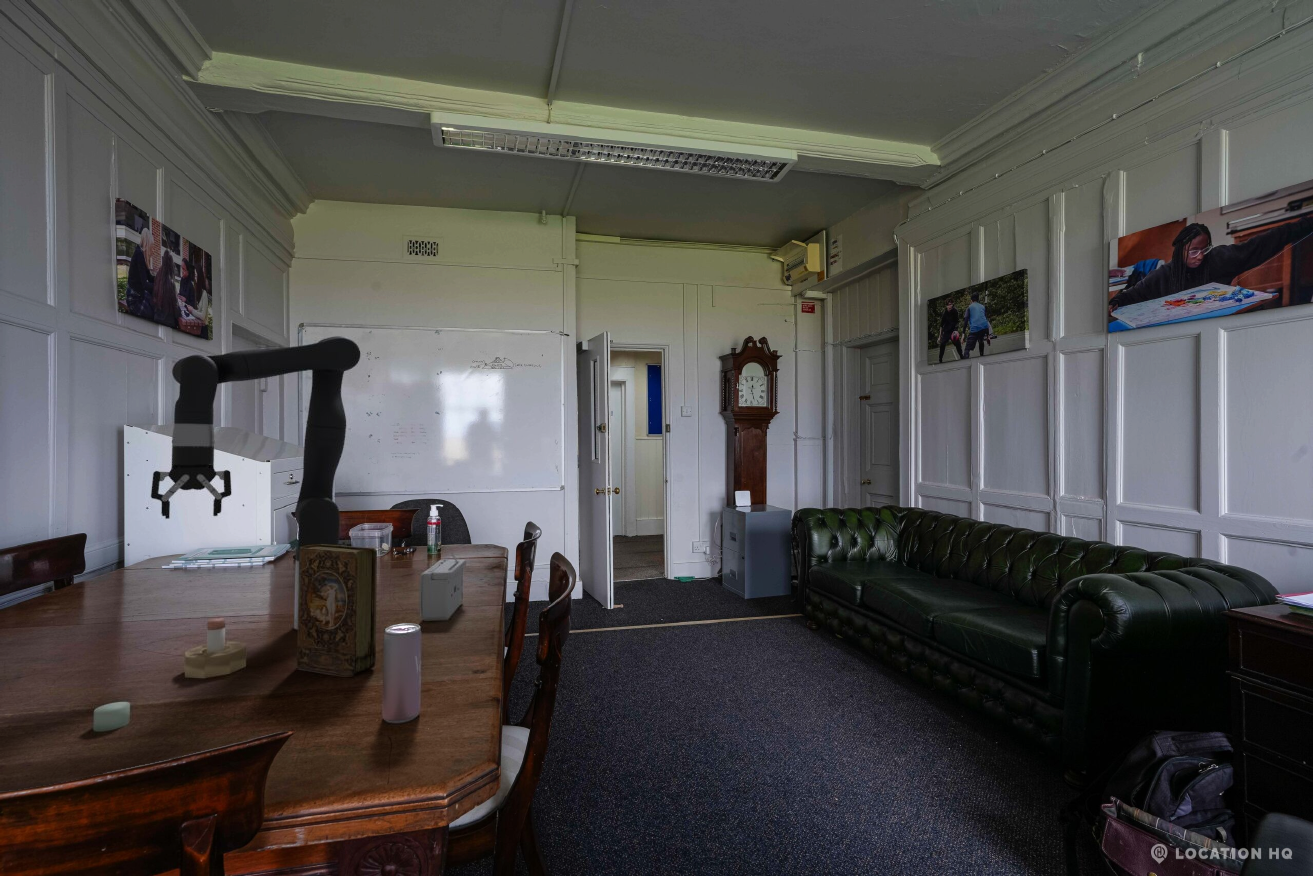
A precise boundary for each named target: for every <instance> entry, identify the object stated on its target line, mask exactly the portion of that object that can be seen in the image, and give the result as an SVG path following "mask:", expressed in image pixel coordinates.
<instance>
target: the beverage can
mask: <svg viewBox="0 0 1313 876" xmlns="http://www.w3.org/2000/svg"><path fill="white" fill-rule="evenodd" d="M382 650H383V651H382V652H383V653H382V654H383V655H382V705H381V707H382V708H381V709H382V711H381V716H382V719H383V720H384V721H385V722H386V723H389V724H402V723H408V722H410V721H412V720H414V719H416V718H417V717H418V715H419V714H420V712H421V692H422V691H421V682H422V679H421V677H422V674H421V673H422V631H421V626H420V625H419V624H416V623H399V624H394V625H390V626H387V627H386V628H385V629H384V635H383V649H382Z"/></svg>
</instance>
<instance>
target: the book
mask: <svg viewBox="0 0 1313 876" xmlns="http://www.w3.org/2000/svg"><path fill="white" fill-rule="evenodd" d="M377 561H378V552H377V549H376V548H374V547H363V546H351V545H339V544H338V545H326V544H317V545H308V546H302V547H300V548H299V591H298V630H297V641H296V642H297V646H296V647H297V649H296V652H297V653H296V669H297V670H300V671H308V672H313V673H318V674H324V675H331V676H336V677H344V678H353V677H355V675H356V674H358V673H361V672H363V671H367V670H371V669H373V668H375V666H376V654H377V649H376V647H377V644H376V643H377V587H378V586H377V581H378V580H377V579H378V578H377V576H378V575H377V574H378V567H377V565H378V563H377Z"/></svg>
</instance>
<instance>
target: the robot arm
mask: <svg viewBox="0 0 1313 876" xmlns="http://www.w3.org/2000/svg"><path fill="white" fill-rule="evenodd" d="M360 360H361V350H360V347H359V346H358V344H357V343H356V342H355V341H354V340H353V339H351V338H350V337H346V336H342V335H341V336H339V335H337V336H336V335H335V336H331V337H327V338H323V339H320V340H319V341H318V342H315V343H310V344H303V345H297V346H287V347H286V346H285V347H273V348H272V347H271V348H257V349H248V350H239V351H238V350H237V351H231V352H227V353H224V354H217V355H203V354H193V355H189V356H187V357H183V358H180V359H179V360H178V361H176V362H175V363H174V364H173V367H172V369H171V371H172V372H171V374H172V377H173V379H174V380H175V382H177V383H178V384H179V392H178V393H179V394H178V395H179V396H178V398H177V400H176V401H175V404H174V414H173V417H174V418H173V420H174V421H173V430H172V435H171V436H172V438H171V444H172V445H171V469H170V471H159V470H155V471H153V473H152V482H151V492H150V498H151V499H153V500H158V501H160V502H161V510H160V511H161V512H160V513H161V516H162V517H165V520H167V519H168V520H169V519H170V518H171V517H170V516H171V515H170V511H171V510H170V508H171V505H170V504H171V502H170V499H171V497H172V496H173V495H175V493H177V492H178V491H179V490H181V491H190V490H195V491H201V490H203V489H206V490H207V491H208V492H209V493H210V494H211V495H212V496H213V497H214V499H213V504H212V506H213V510H212V511H213V514H212V515H213V517H218V515H219V514H221V513H222V505H223V503H222V501H223V499H225V498H228V497H230V496H232V481H231V479H232V478H231V475H232V473H231V471H230V470H229V469H228V470H227V469H226V470H218V471H217V470H215V444H216V441H215V430H214V413H215V412H214V403H215V399H216V393H217V389H218V385H219V384H224V383H232V382H244V381H246V382H247V381H252V380H260V379H267V378H272V377H273V378H274V377H277V376H282V375H288V374H293V373H298V372H304V371H311V374H312V375H311V392H310V398H309V406H308V412H307V418H306V419H307V421H306V424H305V425H306V426H305V434H304V435H305V436H304V446H303V459H302V460H303V462H302V463H303V465H302V466H303V468H302V469H303V470H302V481H301V484H300V485H301V486H300V490H299V494H298V498H297V502H296V507H295V509H294V518H295V521H296V522H297V523H296V524H297V525H298V535H297V536H298V537H297V547H296V550H295V573H294V574H295V576H294V577H295V578H294V582H295V583H294V621H293V623H294V629H295V630H297V631H298V591H299V548H300V547H302V546H308V545H317V544H326V545H339V543H340V525H341V524H340V521H341V520H340V518H341V517H340V509H339V507H338V505H337V504H336V503H335V502H334V500H333V497H334V496H333V495H334V494H333V493H334V492H333V491H334V480H335V475H336V472H337V469H338V466H339V463H340V461H341V457H342V454H343V451H344V448H345V447H344V446H345V440H346V432H347V418H346V417H347V416H346V412H345V408H344V407H345V406H344V403H343V400H342V387H343V386H342V384H343V380H344V375H345V372H346V371H350V370H351V369H353V368H355V367H356V366H357V365H358V363H359V362H360ZM167 477H168V478H169V479H171V481H172V482H173V484H172V485H171V487H169V489H168V490H167V491H166V492H165V493H164V494H161V493H159V491H160V482H163V481H165V478H167ZM216 477H218V478H219V480H221V481H223V491H221V492H219V491H218V490H217V489H216V487H214V486H213V484H212V483H211V482H212V481H213V480H214V479H215V478H216Z"/></svg>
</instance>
